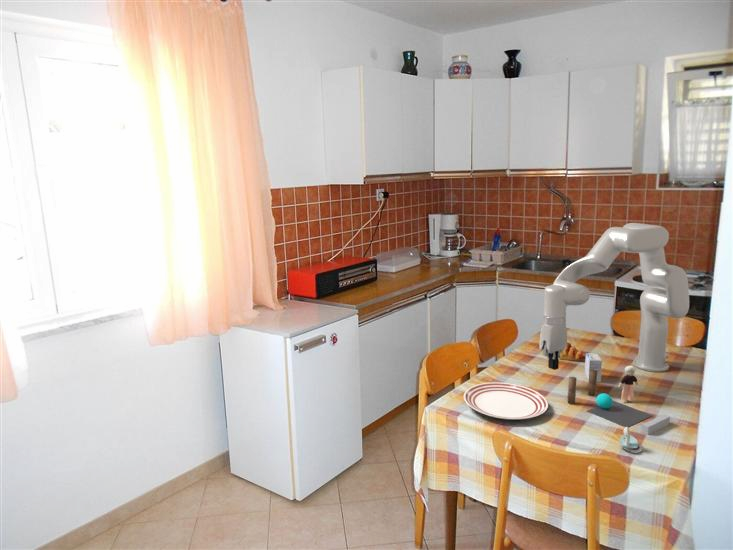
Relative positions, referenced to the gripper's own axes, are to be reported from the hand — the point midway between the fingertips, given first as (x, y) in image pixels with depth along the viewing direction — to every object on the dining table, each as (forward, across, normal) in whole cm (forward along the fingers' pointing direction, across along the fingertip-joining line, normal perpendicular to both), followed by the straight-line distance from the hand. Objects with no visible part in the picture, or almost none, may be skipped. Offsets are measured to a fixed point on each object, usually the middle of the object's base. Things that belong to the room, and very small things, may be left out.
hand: (553, 368), depth 198 cm
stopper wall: (+7, +1, +39) cm, 39 cm away
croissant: (+8, -29, -18) cm, 35 cm away
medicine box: (+8, -18, +4) cm, 20 cm away
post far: (+7, +7, +13) cm, 16 cm away
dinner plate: (+7, +27, +2) cm, 28 cm away
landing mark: (+7, +1, +27) cm, 28 cm away
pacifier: (+7, +18, +41) cm, 46 cm away
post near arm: (+7, -5, +13) cm, 15 cm away
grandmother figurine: (+8, -10, +23) cm, 26 cm away
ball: (+4, +1, +22) cm, 22 cm away
